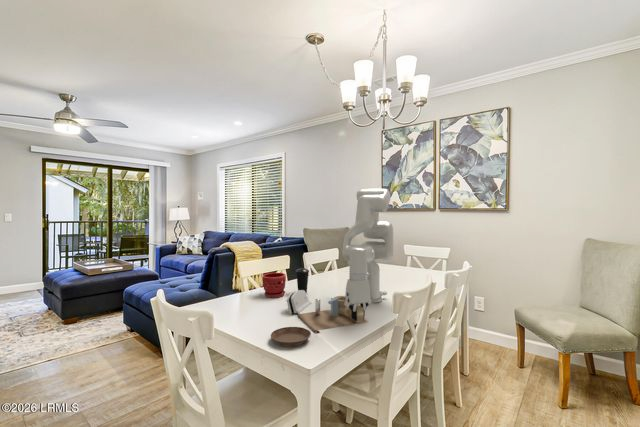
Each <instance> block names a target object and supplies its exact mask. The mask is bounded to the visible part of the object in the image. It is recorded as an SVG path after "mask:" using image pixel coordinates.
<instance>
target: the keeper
mask: <svg viewBox="0 0 640 427" xmlns="http://www.w3.org/2000/svg"><path fill="white" fill-rule="evenodd" d="M328 304H329V305H330V310H331V315H332V316H333V317H334V316H338V299H337V298H334V297H333V298H330V299H329V300H328Z"/></svg>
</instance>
